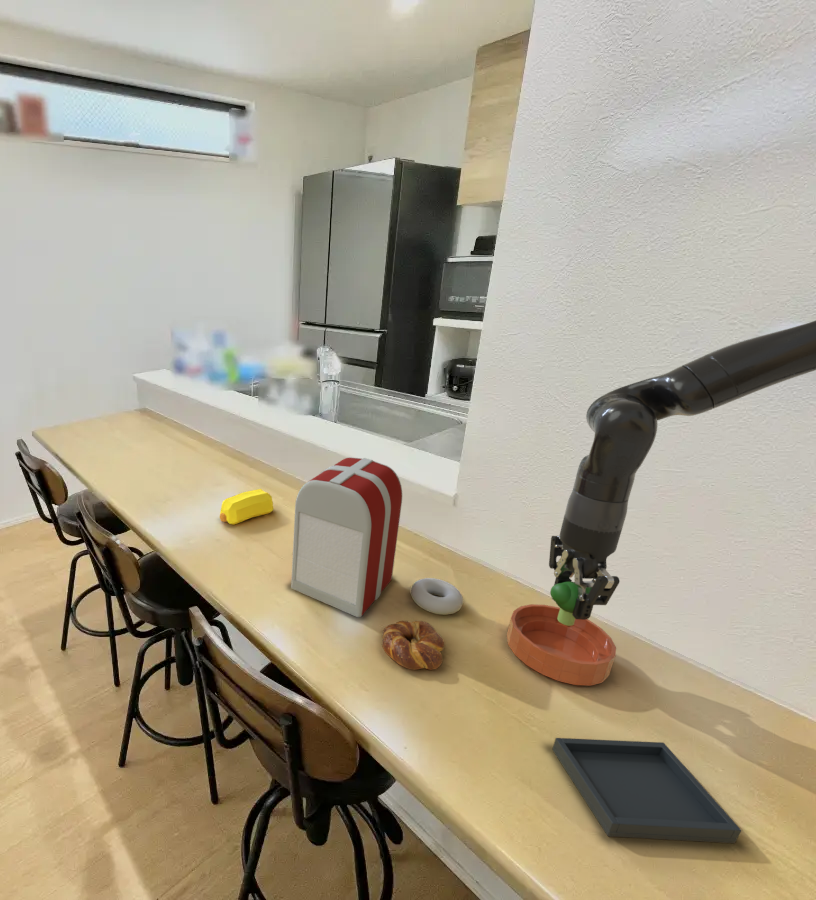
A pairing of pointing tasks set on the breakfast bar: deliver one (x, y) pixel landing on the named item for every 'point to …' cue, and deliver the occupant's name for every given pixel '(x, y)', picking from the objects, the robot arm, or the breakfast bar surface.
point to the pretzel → (413, 644)
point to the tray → (643, 791)
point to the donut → (438, 605)
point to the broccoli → (566, 600)
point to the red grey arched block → (347, 534)
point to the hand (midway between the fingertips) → (569, 606)
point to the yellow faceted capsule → (246, 506)
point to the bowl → (560, 645)
